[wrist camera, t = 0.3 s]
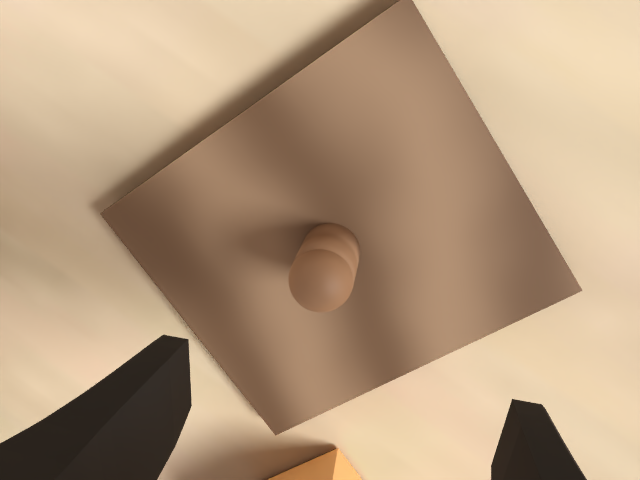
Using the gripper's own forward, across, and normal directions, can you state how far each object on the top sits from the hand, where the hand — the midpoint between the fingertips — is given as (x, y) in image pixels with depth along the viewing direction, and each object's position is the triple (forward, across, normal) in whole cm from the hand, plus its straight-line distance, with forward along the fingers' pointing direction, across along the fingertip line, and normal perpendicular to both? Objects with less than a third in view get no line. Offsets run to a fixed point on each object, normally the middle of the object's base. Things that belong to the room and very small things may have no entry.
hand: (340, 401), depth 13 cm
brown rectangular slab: (+10, +2, +2) cm, 11 cm away
